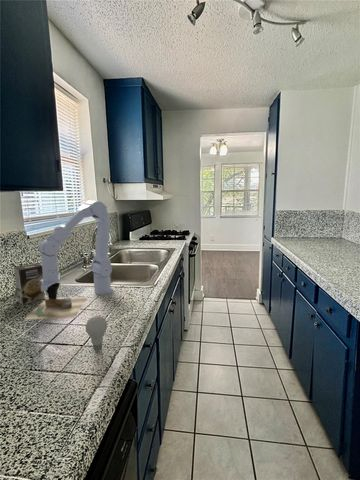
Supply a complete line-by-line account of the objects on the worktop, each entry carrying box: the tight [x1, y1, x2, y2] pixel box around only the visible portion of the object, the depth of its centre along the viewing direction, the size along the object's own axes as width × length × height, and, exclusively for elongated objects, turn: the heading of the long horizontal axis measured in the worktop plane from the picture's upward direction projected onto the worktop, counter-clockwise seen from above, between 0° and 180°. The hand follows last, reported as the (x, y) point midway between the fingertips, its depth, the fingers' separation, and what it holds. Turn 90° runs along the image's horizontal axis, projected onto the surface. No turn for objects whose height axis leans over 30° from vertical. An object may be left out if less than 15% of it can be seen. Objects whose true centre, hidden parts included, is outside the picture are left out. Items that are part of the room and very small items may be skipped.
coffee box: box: [13, 263, 46, 306], centre depth 110 cm, size 9×6×16 cm
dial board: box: [24, 296, 89, 321], centre depth 104 cm, size 20×18×1 cm
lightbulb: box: [85, 315, 108, 352], centre depth 76 cm, size 6×6×11 cm
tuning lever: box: [42, 297, 72, 308], centre depth 104 cm, size 12×4×3 cm, turn 89°
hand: (52, 300), depth 105 cm, fingers closed, pressing on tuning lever
